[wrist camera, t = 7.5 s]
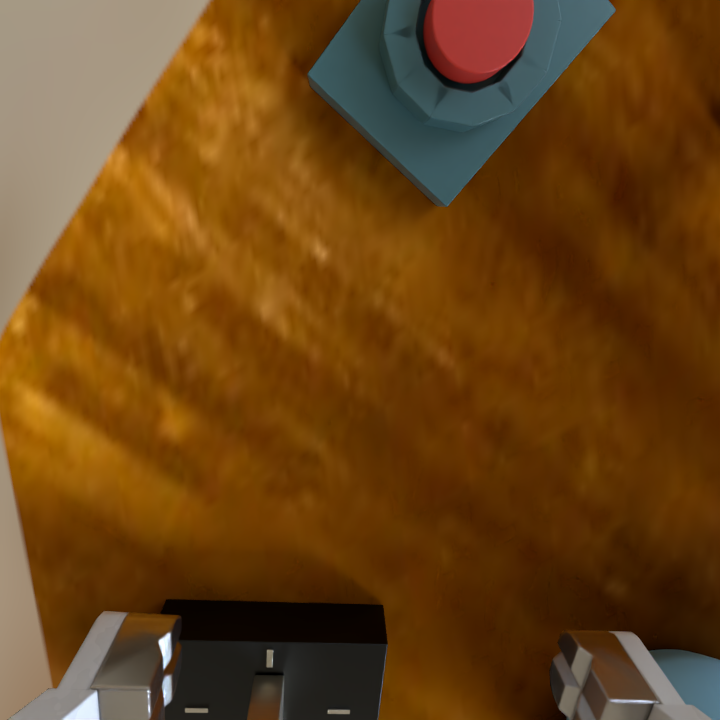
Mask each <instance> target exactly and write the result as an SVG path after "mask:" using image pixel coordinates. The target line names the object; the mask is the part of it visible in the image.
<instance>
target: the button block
mask: <svg viewBox="0 0 720 720" xmlns="http://www.w3.org/2000/svg"><path fill="white" fill-rule="evenodd" d="M430 1H431V0H361V1H360V2H359V3H358V5H357V6H356V8H355V9H354V10H353V12H352V13H351V14H350V16H349V17H348V19H347V20H346V21H345V23H344V24H343V25H342V27H341V28H340V30H339V31H338V32H337V34H336V35H335V36H334V38H333V39H332V41H331V42H330V43H329V45H328V46H327V47H326V49H325V50H324V52H323V53H322V54H321V56H320V57H319V58H318V60H317V61H316V63H315V64H314V65H313V67H312V68H311V69H310V71H309V72H308V74H307V75H308V79H309V83H310V87H311V88H312V89H313V90H315V91H316V92H317V93H318V94H319V95H320V96H321V97H322V98H323V99H324V100H325V101H326V102H327V103H328V104H329V105H330V106H331V107H333V108H334V109H335V110H336V111H337V112H338V113H339V114H340V115H341V116H342V117H343V118H344V119H345V120H346V121H347V122H348V123H349V124H350V125H352V126H353V127H354V128H355V129H356V130H357V131H358V132H359V133H360V134H361V135H362V136H363V137H364V138H365V139H366V140H367V141H368V142H370V143H371V144H372V145H373V146H374V147H375V148H376V149H377V150H378V151H379V152H380V153H381V154H382V155H383V156H384V157H385V158H386V159H387V160H389V161H390V162H391V163H392V164H393V165H394V166H395V167H396V168H397V169H398V170H399V171H400V172H401V173H402V174H403V175H404V176H405V177H407V178H408V179H409V180H410V181H411V182H412V183H413V184H414V185H415V186H416V187H417V188H418V189H419V190H420V191H421V192H422V193H423V194H424V195H426V196H427V197H428V198H429V199H430V200H431V201H432V202H433V203H434V204H435V205H436V206H443V207H447V206H448V205H449V204H450V203H451V201H452V200H453V199H454V198H455V197H456V196H457V194H458V193H459V192H460V191H461V190H462V189H463V187H464V186H465V185H466V184H467V183H468V182H469V181H470V179H471V178H472V177H473V176H474V175H475V174H476V172H477V171H478V170H479V169H480V168H481V167H482V165H483V164H484V163H485V162H486V161H487V160H488V158H489V157H490V156H491V155H492V154H493V153H494V151H495V150H496V149H497V148H498V147H499V146H500V145H501V143H502V142H503V141H504V140H505V139H506V138H507V136H508V135H509V134H510V133H511V132H512V131H513V129H514V128H515V127H516V126H517V125H518V124H519V122H520V121H521V120H522V119H523V118H524V117H525V115H526V114H527V113H528V112H529V111H530V110H531V109H532V107H533V106H534V105H535V104H536V103H537V102H538V100H539V99H540V98H541V97H542V96H543V95H544V93H545V92H546V91H547V90H548V89H549V88H550V86H551V85H552V84H553V83H554V82H555V81H556V79H557V78H558V77H559V76H560V75H561V74H562V72H563V71H564V70H565V69H566V68H567V67H568V66H569V64H570V63H571V62H572V61H573V60H574V59H575V57H576V56H577V55H578V54H579V53H580V52H581V50H582V49H583V48H584V47H585V46H586V45H587V43H588V42H589V41H590V40H591V39H592V38H593V36H594V35H595V34H596V33H597V32H598V31H599V30H600V28H601V27H602V26H603V25H604V24H605V23H606V21H607V20H608V19H609V18H610V17H611V16H612V14H613V13H614V12H615V11H616V9H615V8H614V7H613V5H612V4H611V3H610V2H609V0H533V1H534V15H533V22H532V27H531V30H530V34H529V36H528V38H527V41H526V43H525V44H524V46H523V48H522V49H521V51H520V52H519V53H518V55H517V56H516V57H515V58H514V59H513V60H512V61H511V62H509V63H508V64H507V65H506V66H505V67H503V68H502V69H501V70H499V71H498V72H497V73H496V74H494V75H493V76H491V77H490V78H488V79H486V80H484V81H482V82H478V83H473V84H461V83H457V82H454V81H451V80H449V79H447V78H446V77H444V76H443V75H442V74H441V73H439V72H438V71H437V69H436V68H435V67H434V66H433V64H432V63H431V61H430V59H429V57H428V55H427V52H426V49H425V45H424V38H423V25H424V18H425V14H426V11H427V8H428V5H429V3H430Z"/></svg>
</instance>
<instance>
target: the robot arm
mask: <svg viewBox="0 0 720 720" xmlns="http://www.w3.org/2000/svg"><path fill="white" fill-rule="evenodd" d="M181 630H182V624H181V616H179V615H166V614H151V613H136V612H114V611H104V612H103V613H102V614H101V615H100V616H99V617H98V618H97V619H96V621H95V622H94V624H93V626H92V628H91V630H90V631H89V633H88V635H87V637H86V638H85V640H84V642H83V644H82V645H81V647H80V649H79V651H78V652H77V654H76V656H75V658H74V659H73V661H72V663H71V665H70V666H69V668H68V670H67V672H66V673H65V675H64V677H63V679H62V680H61V682H60V684H59V686H58V687H57V688H50V689H47V690H46V691H45V692H43V693H42V694H41V695H40V696H38V697H37V698H35V699H34V700H33V701H31V702H30V703H29V704H27V705H26V706H25V707H24V708H22V709H21V710H19V711H18V712H17V713H16V714H14V715H13V716H12V717H10V718H9V719H8V720H165V709H164V707H165V706H166V705H167V704H168V703H170V702H171V701H172V699H173V696H174V693H175V690H176V686H177V683H178V678H179V673H180V669H181V660H182V645H181V644H180V643H179V642H178V639H179V636H180V633H181ZM558 645H559V647H560V649H561V652H560V653H558V654H557V655H556V656H555V657H554V658H553V659H552V663H551V666H550V670H549V671H550V685H551V689H552V693H553V697H554V699H555V701H556V704H557V706H558V708H559V710H560V711H561V712H562V713H563V714H565V715H566V716H567V717H568V718H569V719H570V720H712V719H711V718H710V717H708V716H707V715H706V714H704V713H703V712H702V711H700V710H699V709H698V708H696V707H695V706H694V705H686V704H685V703H684V701H683V700H682V698H681V697H680V695H679V694H678V693H677V691H676V690H675V688H674V687H673V686H672V684H671V683H670V681H669V680H668V678H667V677H666V676H665V674H664V673H663V671H662V670H661V669H660V667H659V666H658V664H657V663H656V661H655V660H654V659H653V657H652V656H651V654H650V653H649V651H648V650H647V649H646V647H645V646H644V644H643V643H642V642H641V640H640V639H639V637H638V636H637V635H635V634H634V633H633V632H623V631H597V630H564V631H563V632H562V633H561V634H560V636H559V639H558Z"/></svg>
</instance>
